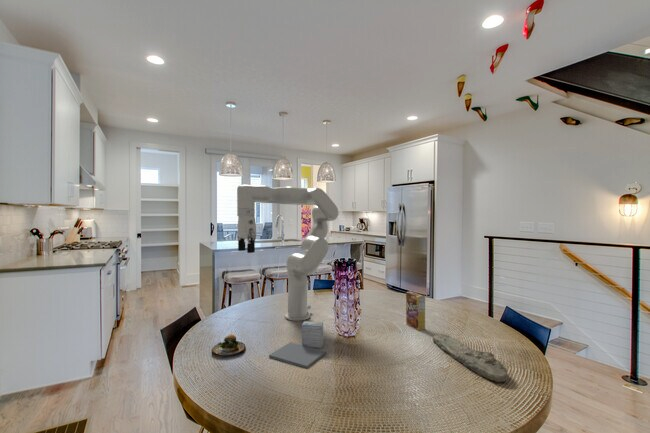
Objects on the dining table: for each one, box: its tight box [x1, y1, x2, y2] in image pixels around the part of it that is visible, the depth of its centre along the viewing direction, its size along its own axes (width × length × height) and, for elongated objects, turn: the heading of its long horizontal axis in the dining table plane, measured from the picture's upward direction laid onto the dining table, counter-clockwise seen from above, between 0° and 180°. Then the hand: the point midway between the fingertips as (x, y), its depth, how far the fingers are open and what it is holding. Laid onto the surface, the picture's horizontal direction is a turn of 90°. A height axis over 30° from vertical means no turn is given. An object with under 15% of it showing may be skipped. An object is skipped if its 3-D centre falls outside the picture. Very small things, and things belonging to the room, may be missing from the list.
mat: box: [268, 341, 327, 369], centre depth 113 cm, size 13×16×1 cm
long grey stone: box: [432, 333, 509, 383], centre depth 112 cm, size 35×5×10 cm
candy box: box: [405, 290, 426, 331], centre depth 143 cm, size 9×4×15 cm, turn 23°
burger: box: [211, 328, 247, 356], centre depth 116 cm, size 12×12×8 cm
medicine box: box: [301, 320, 324, 349], centre depth 122 cm, size 8×4×9 cm, turn 84°
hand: (246, 251), depth 139 cm, fingers open, 9 cm apart
